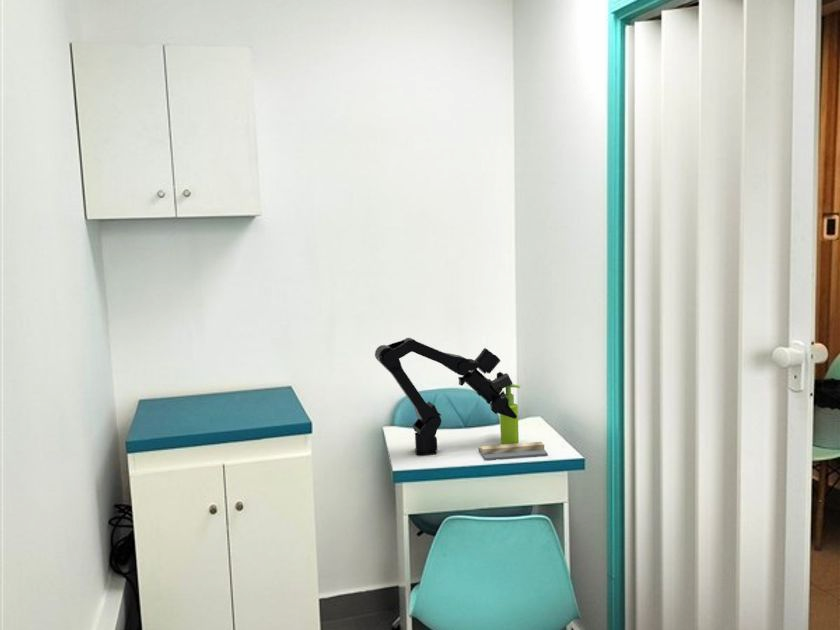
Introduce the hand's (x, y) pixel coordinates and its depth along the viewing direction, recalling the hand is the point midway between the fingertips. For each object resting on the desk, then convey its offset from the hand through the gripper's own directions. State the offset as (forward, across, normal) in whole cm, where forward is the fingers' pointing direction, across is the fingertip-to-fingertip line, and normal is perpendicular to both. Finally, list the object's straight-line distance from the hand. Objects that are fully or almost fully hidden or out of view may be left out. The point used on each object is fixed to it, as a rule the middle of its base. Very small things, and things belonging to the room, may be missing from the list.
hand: (514, 415), depth 250 cm
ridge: (+5, -10, +9) cm, 14 cm away
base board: (+5, -10, +9) cm, 14 cm away
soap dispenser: (+6, 0, +8) cm, 10 cm away
